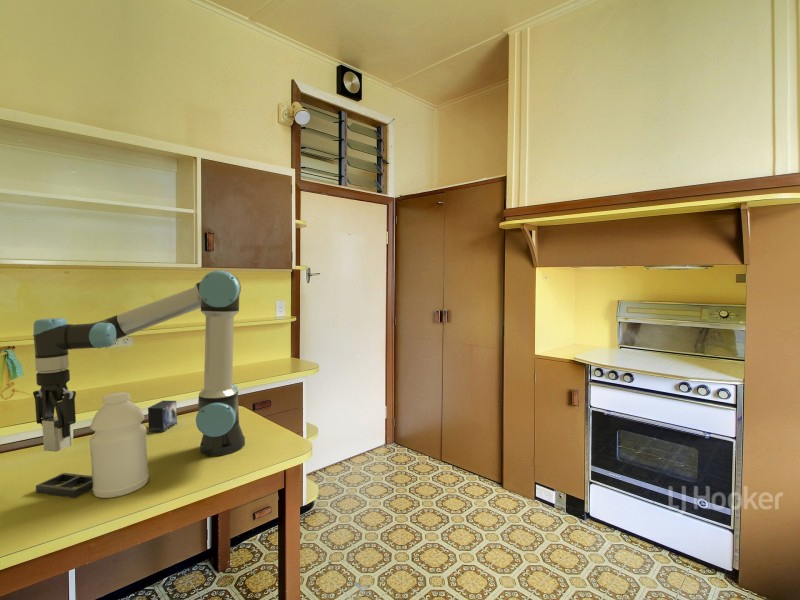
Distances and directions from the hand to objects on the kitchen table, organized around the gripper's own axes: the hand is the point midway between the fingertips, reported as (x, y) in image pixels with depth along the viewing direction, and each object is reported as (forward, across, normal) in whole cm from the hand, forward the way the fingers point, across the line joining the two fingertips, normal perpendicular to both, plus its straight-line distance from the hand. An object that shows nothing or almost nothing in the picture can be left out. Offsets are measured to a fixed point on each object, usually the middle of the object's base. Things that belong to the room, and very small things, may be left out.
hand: (57, 446), depth 121 cm
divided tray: (+12, -4, 0) cm, 13 cm away
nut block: (0, 0, 0) cm, 0 cm away
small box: (+13, +8, -48) cm, 50 cm away
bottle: (+13, -18, -4) cm, 23 cm away
